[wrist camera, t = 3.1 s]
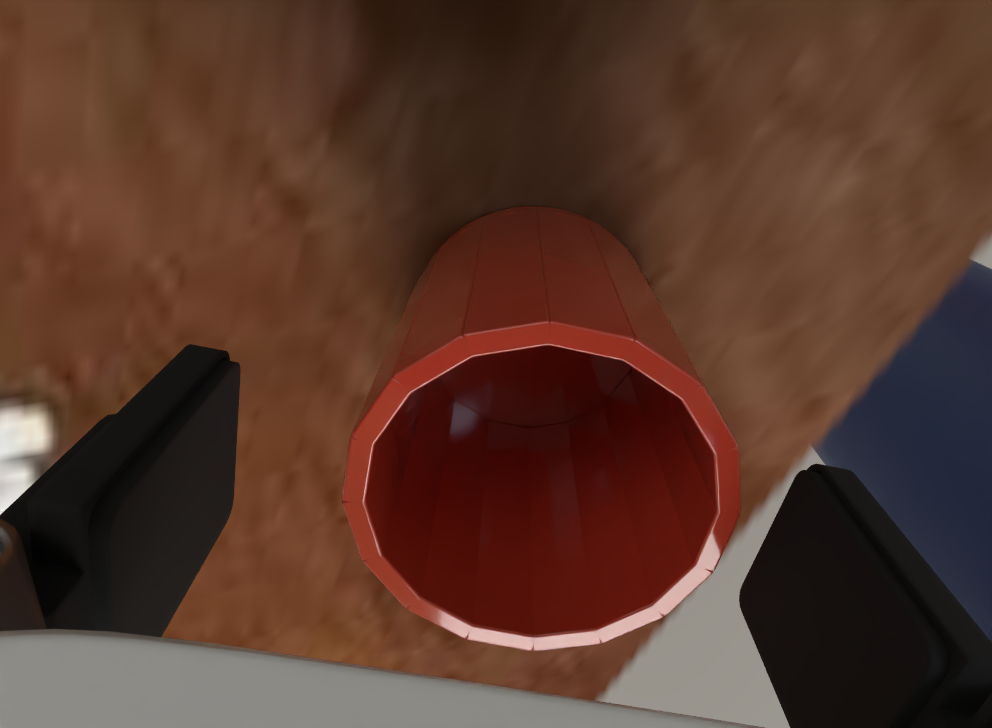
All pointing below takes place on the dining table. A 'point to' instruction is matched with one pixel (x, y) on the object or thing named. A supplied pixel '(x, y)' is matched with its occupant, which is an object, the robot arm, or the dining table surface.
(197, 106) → the dining table surface
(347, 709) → the robot arm
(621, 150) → the dining table surface
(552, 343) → the cup
